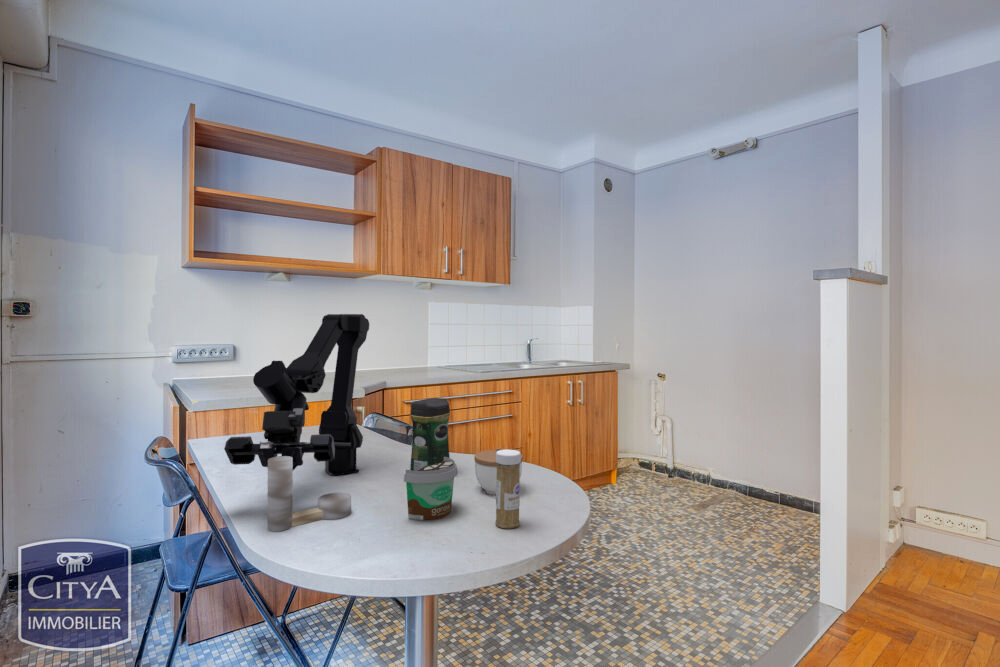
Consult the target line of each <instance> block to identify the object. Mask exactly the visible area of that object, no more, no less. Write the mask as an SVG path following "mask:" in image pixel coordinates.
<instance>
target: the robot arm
mask: <svg viewBox="0 0 1000 667" xmlns="http://www.w3.org/2000/svg"><path fill="white" fill-rule="evenodd" d="M369 330H370V321H369V319H368V318H366V316H365V314H363V313H360V314H359V313H339V314H337V313H330V314H329V313H328V314H325V315H323V317H322V321H321V325H320V327H319V328H318V330H317V331H316V333H315V335H314V336H313V338H312V339H311V341H310V343H309V345H308V347H307V348H306V350H305V352H304V353H303V354H302V355H300V356H298V357H297V358H295V359H293V360H292V361H291V362H290V363H289V365H288V366H287V367H286V365H285V362H284V361H283V360H272V361H271V364H268V365H266V366H264V367H262V368H261V369H259V370H258V371H257V372H255V374H254V376H253V378H252V379H253V384H254V385H255V387H256V389H258V391H259V392H260V393H261V394H262V396H263V397H264V398H265V400H266V401H267V402H268V403H269V404H270V405H274V409H273V410H271V411H270V410H269V411H264V412H263V416H262V418H263V419H262V425H261V426H262V428H261V429H262V431H264V434H263V437H264V440H261V441H260V442H259V443H254V442H253V439H252V436H249V435H248V436H231V437H229V438H228V439H227V440H226V441H225V445H224V451H225V454H226V456H227V458H228V460H229V463H230V464H231V465H238V466H239V465H250V464H251V463H253V462H255V459H256V456H257V457H258V458H259V462H260V464H261V466H262V467H263V468H268V459H270V458H273V457H278V455H281V456H290V457H292V458H293V471H294V470H295V469H297V468H298V467H299V466H300V467H301V466H303V464H304V461H303V458H304V455H305V454H306V453H308V454H309V453H313V459H314V460H316V462H318V463H319V462H324V470H325V471H326V472H327V473H328V474H330V475H331V476H334V477H335V476H340V475H346V474H348V475H349V474H352V473H358V472H359V471H360V469H359V468H358V467H357V449H359V448H362V445H363V440H364V438H363V437H364V436H363V434H362V432H361V431H360V429H359V426H358V425H357V423H358V421H357V420H358V418H357V417H358V416H357V415H356V413H355V411H354V409H353V407H352V406H353V405H352V404H353V396H354V388H355V378H356V373H357V372H356V370H357V362H358V353H359V350H360V348H361V346H362V345H363V344H364V343H365V342H366V341H367V336H368V332H369ZM336 346H337V353H336V354H337V356H336V363H335V372H334V378H333V385H332V392H331V393H332V395H331V402H330V405H329V407H328V408H327V409H326V410H323V411H322V412H321V414H320V423H319V426H318V434H311V435H310V439H309V441H301V436H302V432H303V427H305V425H306V424H305V421H306V411H309V409H310V407H309V404H308V401H307V399H308V398H307V397H306V396H305V394H315V393H316V394H317V393H318V392H319V391H320V390H321V388H322V387H323V385H324V380H325V377H326V375H327V374H326V372H325V366H326V363H327V361H328V359H329V358H330V356H331V354H332V352H333V350H334V348H335V347H336Z"/></svg>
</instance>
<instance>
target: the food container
mask: <svg viewBox="0 0 1000 667" xmlns="http://www.w3.org/2000/svg"><path fill="white" fill-rule="evenodd" d="M458 473H459V472H458V467H457V464H456V461H455V460H454V459H453V458H448V457H444V461H443V462H440V463H438V464H434V465H427V466H425V467H423V468H421V469H419V470H417V471H411V470H410V469H405V473H404V476H403V482H405V483H406V486H405V487H406V499H407V511H408V512H407V513H408V517H407V518H408V519H409V520H413V521H421V522H422V521H423V522H424V521H435V520H439V519H440V520H441V519H443V518H446V517H448V516H449V515H450V514H451V512H452V504H453V493H454V483H455V477H457V476H458Z"/></svg>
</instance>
